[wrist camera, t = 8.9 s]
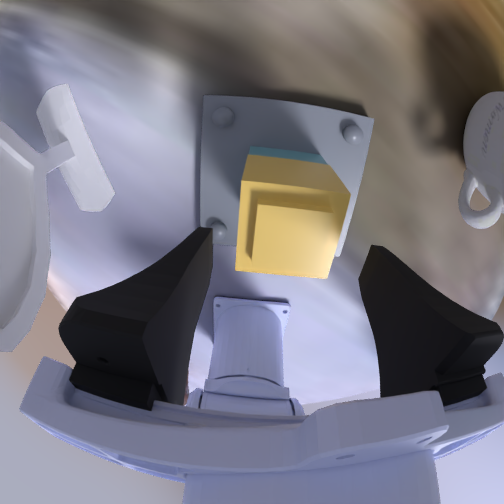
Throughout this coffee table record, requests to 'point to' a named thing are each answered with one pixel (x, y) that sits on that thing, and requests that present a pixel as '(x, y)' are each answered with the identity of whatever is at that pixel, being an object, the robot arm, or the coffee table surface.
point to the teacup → (484, 160)
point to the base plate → (273, 132)
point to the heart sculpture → (40, 205)
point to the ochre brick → (289, 217)
